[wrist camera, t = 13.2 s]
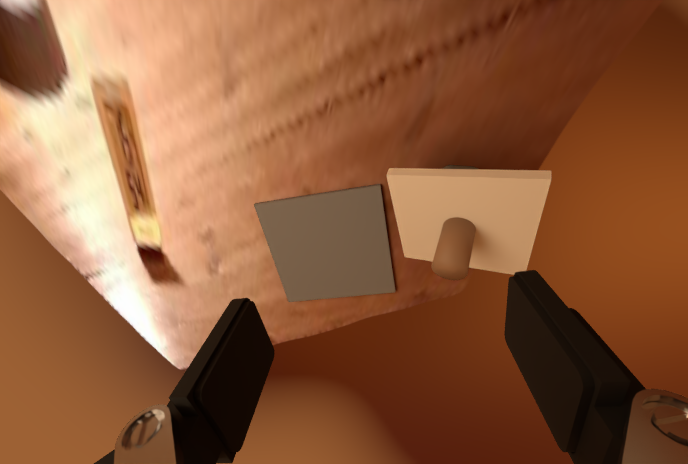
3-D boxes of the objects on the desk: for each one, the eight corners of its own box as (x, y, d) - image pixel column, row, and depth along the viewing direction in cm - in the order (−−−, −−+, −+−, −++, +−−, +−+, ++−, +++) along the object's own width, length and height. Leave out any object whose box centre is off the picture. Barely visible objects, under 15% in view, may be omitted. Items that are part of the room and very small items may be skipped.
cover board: (389, 168, 32) (367, 213, 28) (551, 170, 25) (551, 230, 21) (406, 250, 43) (392, 291, 39) (524, 268, 36) (521, 321, 32)
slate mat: (255, 203, 46) (253, 204, 46) (380, 183, 43) (380, 185, 42) (289, 299, 55) (288, 301, 54) (395, 289, 52) (395, 292, 51)
